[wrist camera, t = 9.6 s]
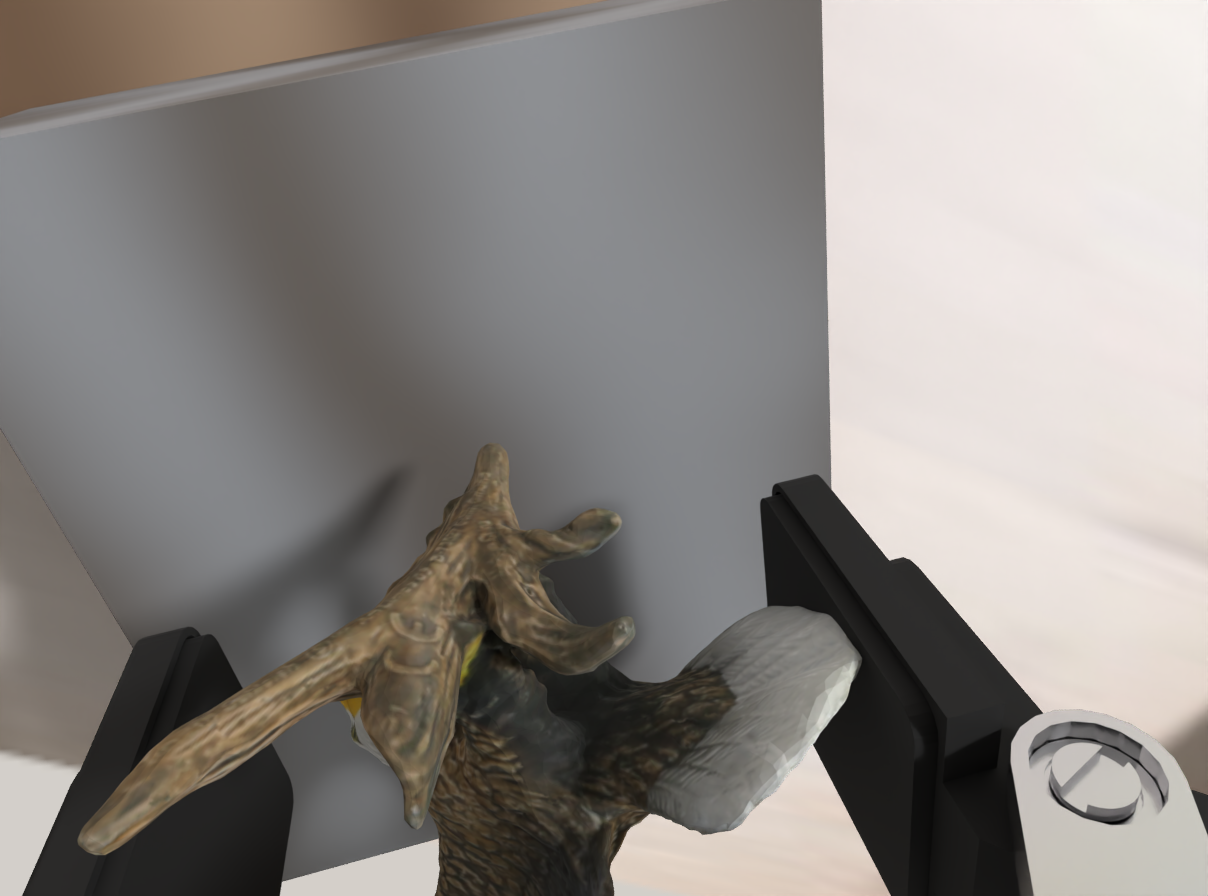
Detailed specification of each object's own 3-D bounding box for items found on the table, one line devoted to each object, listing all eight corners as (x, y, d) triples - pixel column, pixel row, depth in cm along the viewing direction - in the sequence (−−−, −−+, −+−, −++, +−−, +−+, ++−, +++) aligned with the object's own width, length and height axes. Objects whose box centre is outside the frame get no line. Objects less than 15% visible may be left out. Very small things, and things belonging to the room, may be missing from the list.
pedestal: (746, -128, 15) (945, -195, 9) (786, 570, 23) (905, 758, 17) (-75, 17, 14) (-419, 40, 8) (273, 701, 22) (224, 950, 16)
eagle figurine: (-63, 618, 8) (238, 1090, 12) (294, 1194, 4) (581, 1636, 8) (506, 349, 13) (586, 757, 17) (972, 458, 8) (928, 980, 13)
